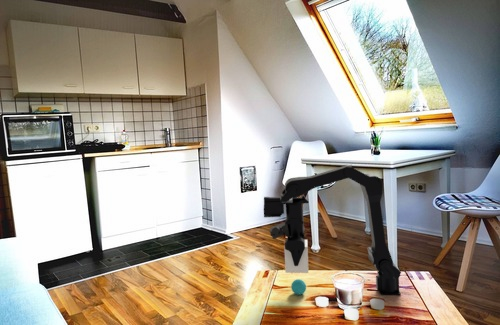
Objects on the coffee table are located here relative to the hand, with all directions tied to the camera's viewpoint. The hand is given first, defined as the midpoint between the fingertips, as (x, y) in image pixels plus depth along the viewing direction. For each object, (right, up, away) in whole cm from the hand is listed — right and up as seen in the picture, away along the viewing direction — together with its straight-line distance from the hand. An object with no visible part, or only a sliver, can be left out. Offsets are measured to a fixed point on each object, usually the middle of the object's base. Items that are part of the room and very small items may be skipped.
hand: (296, 261), depth 123 cm
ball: (+1, -9, +1) cm, 9 cm away
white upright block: (0, -2, 0) cm, 2 cm away
